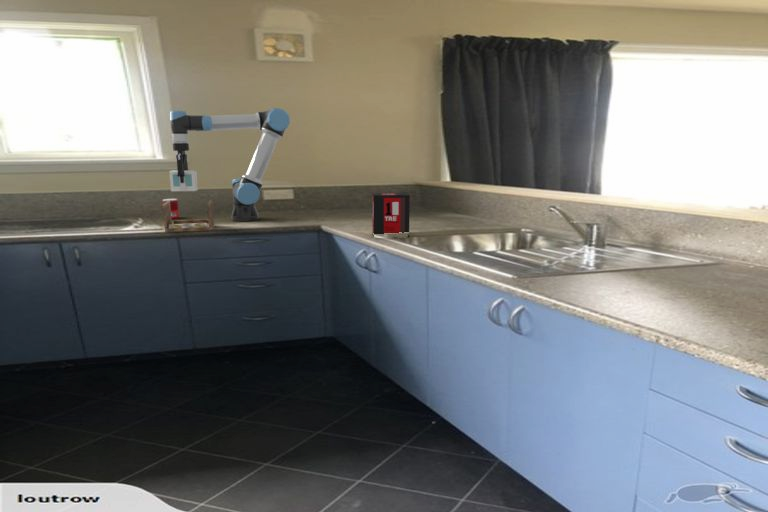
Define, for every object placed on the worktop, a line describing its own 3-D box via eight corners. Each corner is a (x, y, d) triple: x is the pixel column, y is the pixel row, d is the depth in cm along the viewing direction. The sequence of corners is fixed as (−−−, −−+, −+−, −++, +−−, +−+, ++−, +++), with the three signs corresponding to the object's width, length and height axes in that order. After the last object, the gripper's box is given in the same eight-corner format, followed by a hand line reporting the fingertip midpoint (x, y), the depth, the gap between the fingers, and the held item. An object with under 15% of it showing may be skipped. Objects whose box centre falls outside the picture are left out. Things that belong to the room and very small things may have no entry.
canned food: (181, 217, 293) (179, 198, 290) (174, 219, 285) (172, 200, 283) (169, 217, 294) (167, 198, 291) (162, 219, 286) (159, 200, 283)
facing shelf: (214, 225, 265) (212, 200, 262) (211, 230, 252) (209, 203, 249) (170, 227, 261) (167, 201, 258) (164, 231, 248) (162, 204, 244)
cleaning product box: (406, 234, 240) (407, 193, 236) (409, 238, 232) (409, 195, 227) (372, 235, 239) (372, 193, 234) (373, 238, 230) (373, 195, 226)
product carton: (198, 189, 260) (196, 170, 258) (195, 191, 254) (194, 171, 252) (173, 190, 258) (172, 170, 256) (170, 191, 252) (169, 171, 250)
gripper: (177, 142, 259) (181, 187, 265) (168, 142, 241) (172, 190, 246) (192, 142, 261) (195, 186, 266) (184, 142, 242) (188, 190, 248)
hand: (184, 188), depth 256 cm, fingers closed on product carton, 6 cm apart
